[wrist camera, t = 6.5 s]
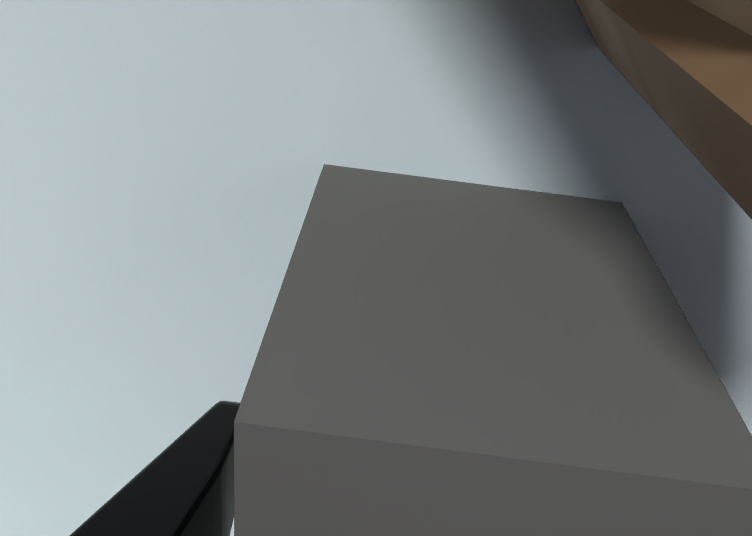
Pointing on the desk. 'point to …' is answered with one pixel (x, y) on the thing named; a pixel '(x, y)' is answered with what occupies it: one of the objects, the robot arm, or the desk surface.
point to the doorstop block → (481, 376)
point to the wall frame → (688, 74)
